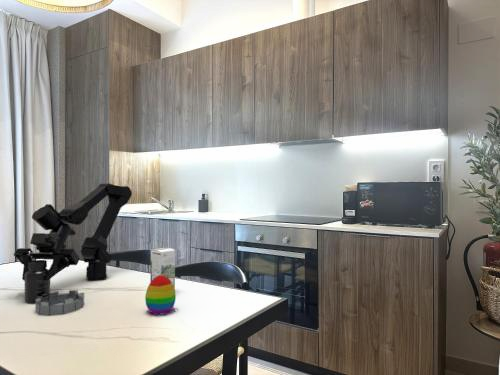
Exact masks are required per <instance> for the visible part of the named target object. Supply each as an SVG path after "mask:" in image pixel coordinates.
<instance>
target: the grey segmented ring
mask: <svg viewBox="0 0 500 375" xmlns="http://www.w3.org/2000/svg"><path fill="white" fill-rule="evenodd" d="M34 304H35V309H34V310H35V313H36V314H37V315H38V316H48V317H49V316H59V315H60V316H61V315H66V314H69V313H74V312H76V311H78V310H80V309H83V308H84V306H85V292H79V290H78V289H69V290H68V293H67V292H64V293H59V291H58V290H55V291H54V290H53V291H50V292H49V296H46V297H44V298H43V296H40V297H37V298H36V303H34Z"/></svg>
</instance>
